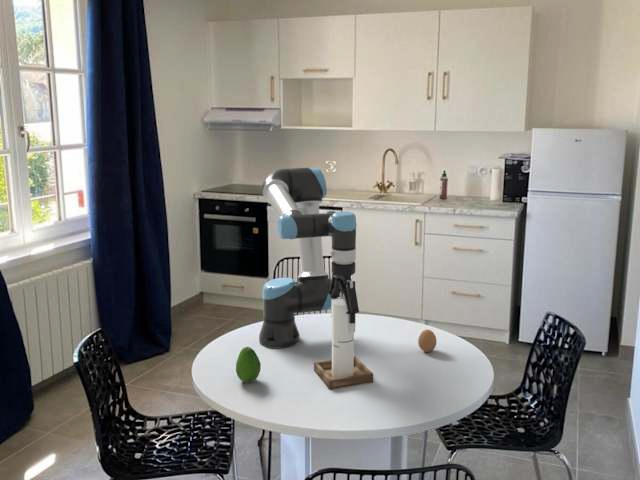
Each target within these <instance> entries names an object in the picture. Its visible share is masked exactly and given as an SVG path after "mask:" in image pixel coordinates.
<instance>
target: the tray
mask: <svg viewBox="0 0 640 480" xmlns="http://www.w3.org/2000/svg"><path fill="white" fill-rule="evenodd" d="M313 371H314V372H315V374H316V375H317V376H318V378H319V379H320V380H321V381H322V382H323V384H324V385H325V386H326V387H327V388H328V390H330V391H331V390H336V389H337V390H338V389H342V388H347V387H354V386H355V387H356V386H361V385H366V384H373V383H374V373H373V372H372V370H371V369H369V368H368V367H367V366H366V365H365V364H364V363H363V362H362V361H361V360H360V359H359V358H358V357H357V356H356V355H354V375H353V376H348V377H342V378H335V377H333V376H332V359H329V360H322V361H315V362H313Z"/></svg>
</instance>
